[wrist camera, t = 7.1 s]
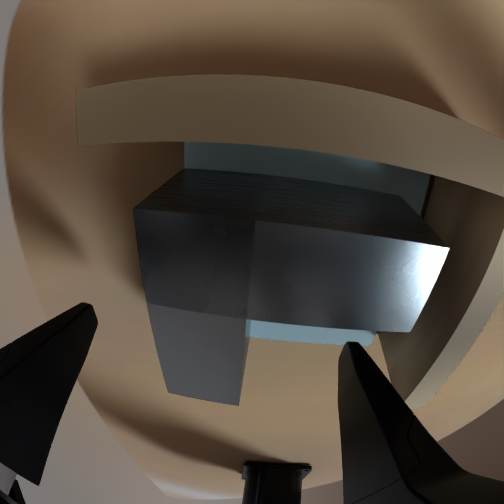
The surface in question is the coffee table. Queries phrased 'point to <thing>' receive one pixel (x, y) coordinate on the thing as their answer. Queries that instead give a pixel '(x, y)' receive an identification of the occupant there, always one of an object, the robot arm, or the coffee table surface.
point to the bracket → (272, 267)
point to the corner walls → (352, 145)
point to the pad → (316, 169)
